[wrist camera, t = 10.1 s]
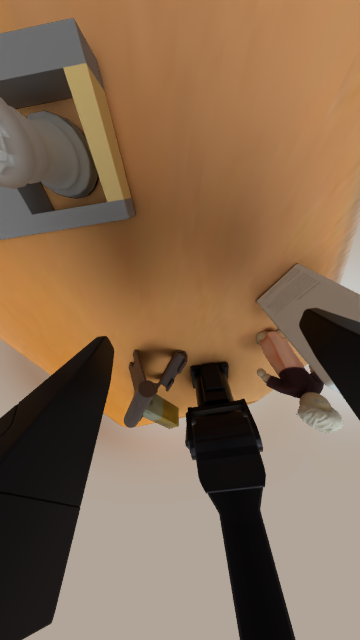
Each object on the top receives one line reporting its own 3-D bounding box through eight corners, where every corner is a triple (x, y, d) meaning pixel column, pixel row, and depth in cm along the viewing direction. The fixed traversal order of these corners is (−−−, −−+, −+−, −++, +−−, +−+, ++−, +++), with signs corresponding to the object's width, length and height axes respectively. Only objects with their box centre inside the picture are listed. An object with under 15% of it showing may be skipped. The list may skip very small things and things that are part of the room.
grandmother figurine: (295, 321, 24) (387, 416, 14) (291, 339, 26) (368, 432, 16) (240, 333, 25) (289, 431, 15) (242, 350, 27) (285, 444, 17)
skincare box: (274, 314, 23) (350, 404, 13) (253, 299, 21) (322, 389, 12) (317, 279, 20) (456, 362, 10) (297, 258, 18) (440, 333, 9)
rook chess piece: (111, 184, 14) (61, 179, 7) (66, 207, 14) (-14, 221, 8) (71, 101, 11) (-62, -17, 5) (19, 135, 12) (-156, 73, 5)
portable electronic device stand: (168, 381, 31) (168, 431, 25) (126, 373, 29) (113, 426, 23) (186, 351, 27) (192, 404, 20) (137, 339, 24) (126, 394, 18)
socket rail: (135, 214, 15) (129, 218, 13) (-32, 241, 16) (-69, 251, 13) (96, 58, 10) (73, 18, 8) (-147, 108, 11) (-237, 84, 8)
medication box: (133, 390, 33) (129, 411, 30) (143, 385, 32) (140, 407, 29) (169, 410, 39) (169, 430, 36) (179, 407, 38) (179, 427, 35)
